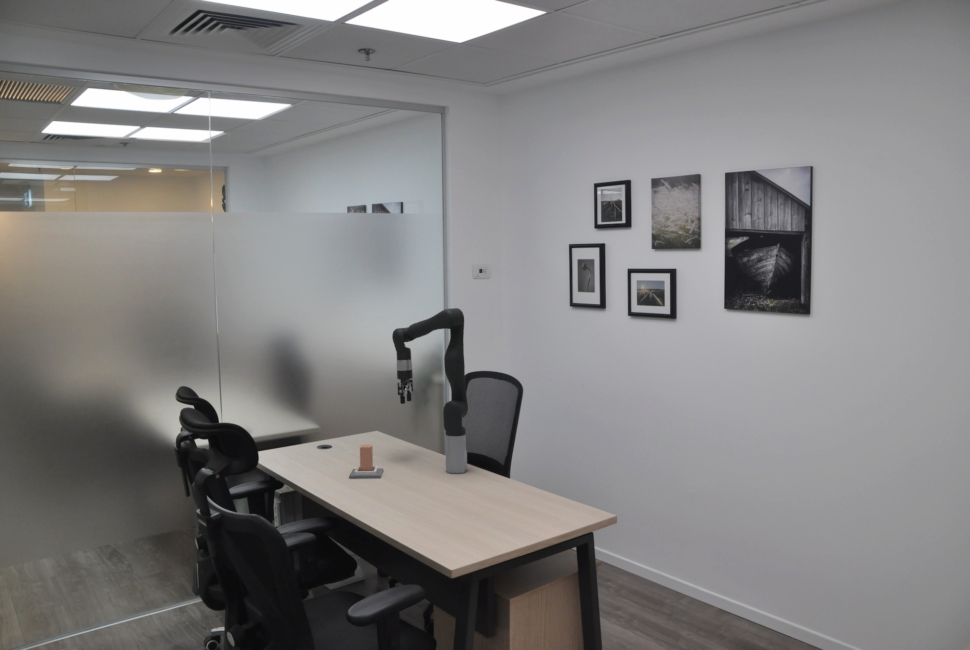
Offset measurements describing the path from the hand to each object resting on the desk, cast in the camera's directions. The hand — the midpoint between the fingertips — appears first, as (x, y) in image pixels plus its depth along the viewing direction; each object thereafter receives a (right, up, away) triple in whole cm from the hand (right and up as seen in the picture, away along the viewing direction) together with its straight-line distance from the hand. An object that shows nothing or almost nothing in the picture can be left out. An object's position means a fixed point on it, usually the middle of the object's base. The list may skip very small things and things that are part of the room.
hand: (406, 402), depth 352 cm
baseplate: (-16, -31, -22) cm, 41 cm away
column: (-16, -29, -22) cm, 40 cm away
